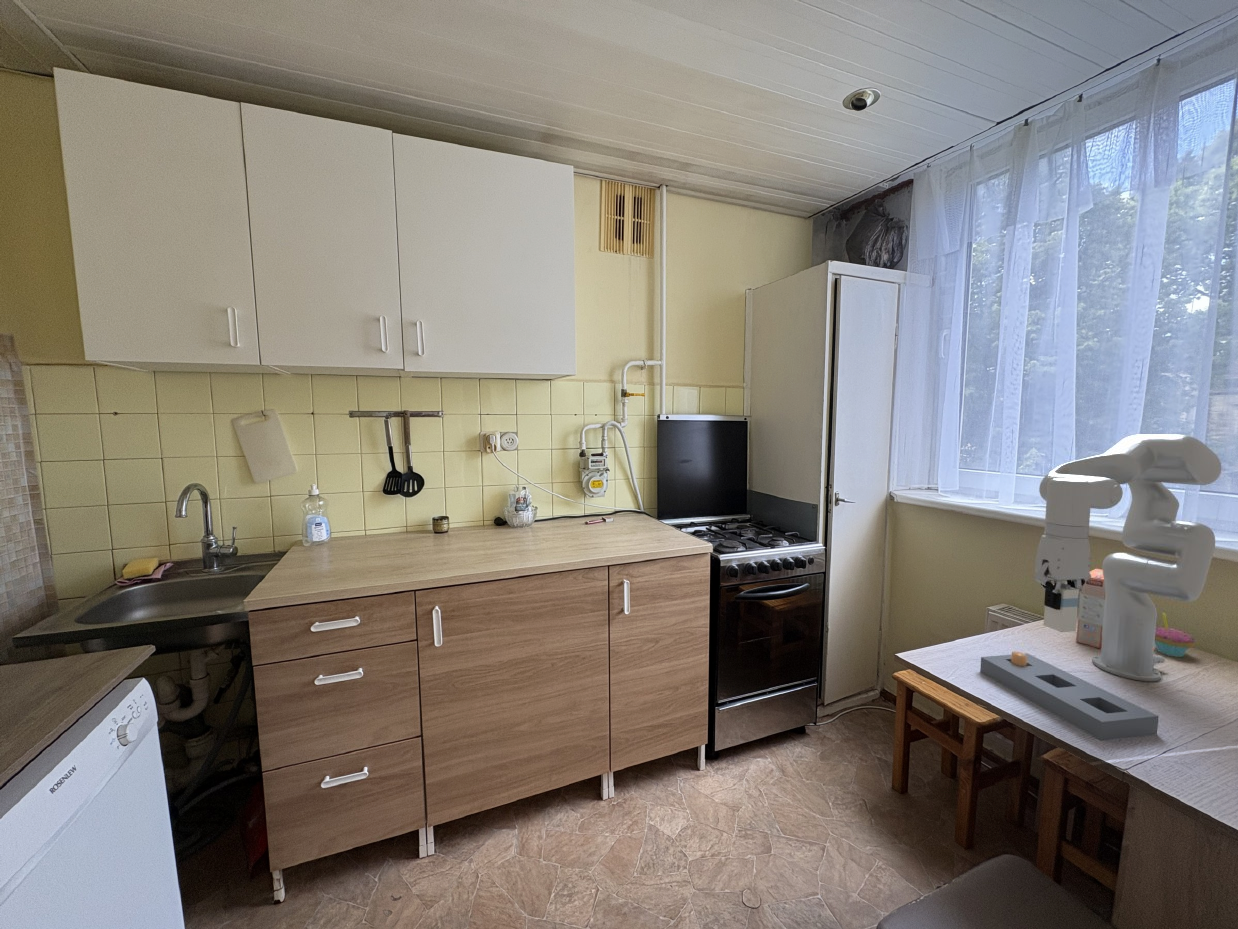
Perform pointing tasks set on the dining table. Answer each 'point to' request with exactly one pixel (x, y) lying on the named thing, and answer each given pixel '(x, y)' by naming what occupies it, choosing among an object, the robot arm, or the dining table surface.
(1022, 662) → the brown egg
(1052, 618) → the plug
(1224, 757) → the dining table surface
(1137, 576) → the robot arm
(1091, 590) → the cracker box
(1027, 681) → the panel
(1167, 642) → the cupcake
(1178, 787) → the dining table surface
